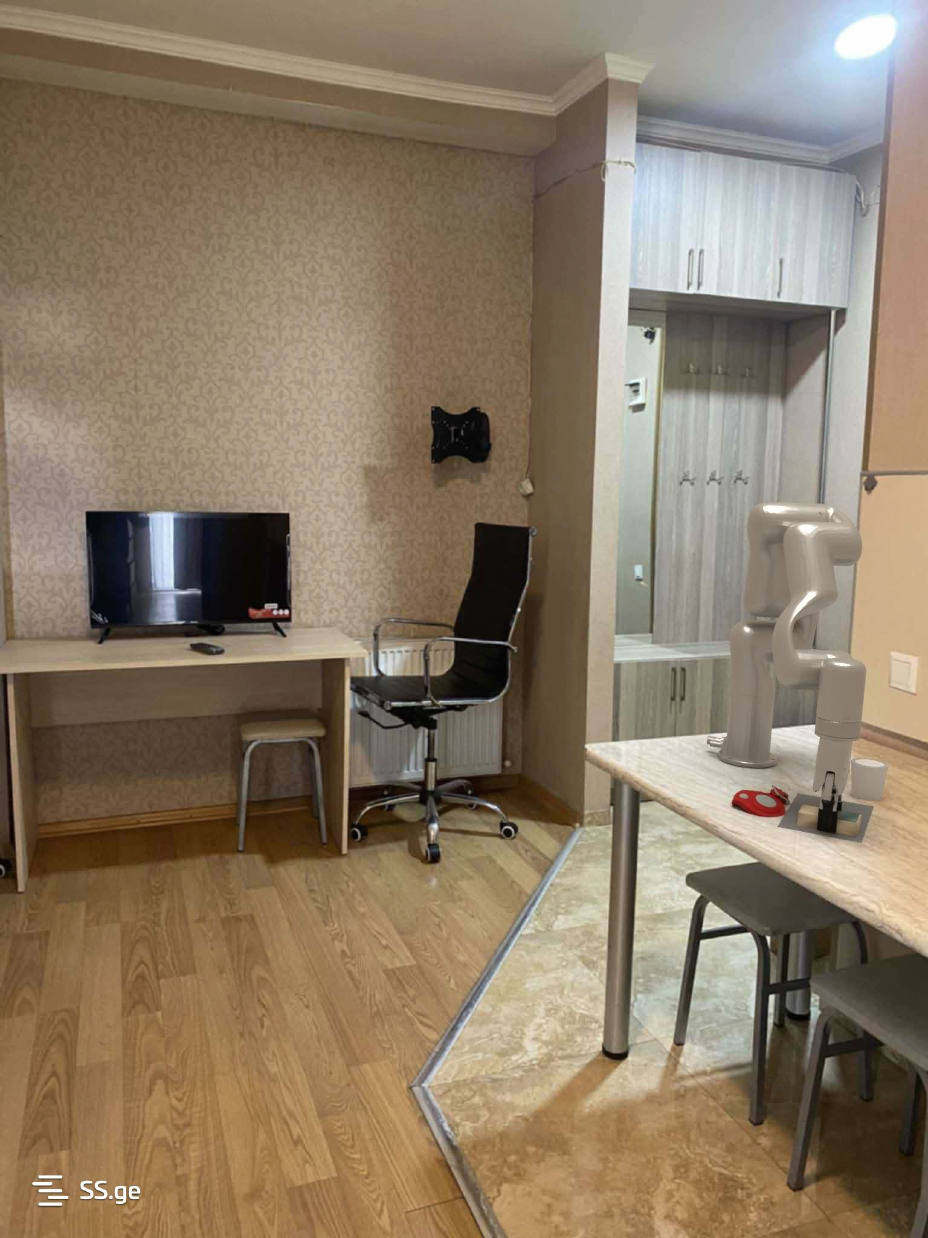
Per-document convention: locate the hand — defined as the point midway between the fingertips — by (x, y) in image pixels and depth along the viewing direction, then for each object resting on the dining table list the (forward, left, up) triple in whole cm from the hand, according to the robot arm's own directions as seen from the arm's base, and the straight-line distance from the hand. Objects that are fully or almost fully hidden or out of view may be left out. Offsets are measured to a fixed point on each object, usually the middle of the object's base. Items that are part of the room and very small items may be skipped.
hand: (828, 825), depth 172 cm
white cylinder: (+4, +25, -1) cm, 25 cm away
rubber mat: (-1, +6, -1) cm, 6 cm away
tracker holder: (-12, +5, -1) cm, 13 cm away
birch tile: (0, 0, 0) cm, 0 cm away
